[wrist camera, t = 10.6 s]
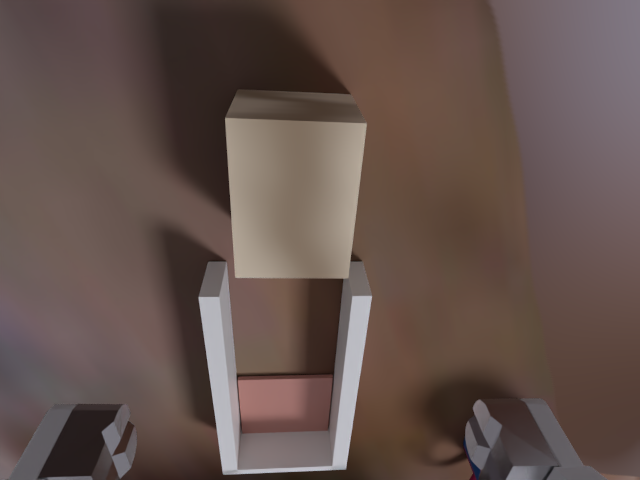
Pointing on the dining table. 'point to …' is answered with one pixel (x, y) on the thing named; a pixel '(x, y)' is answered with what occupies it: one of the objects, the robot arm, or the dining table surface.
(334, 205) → the block
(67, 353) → the dining table surface
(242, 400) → the white u-shaped frame
